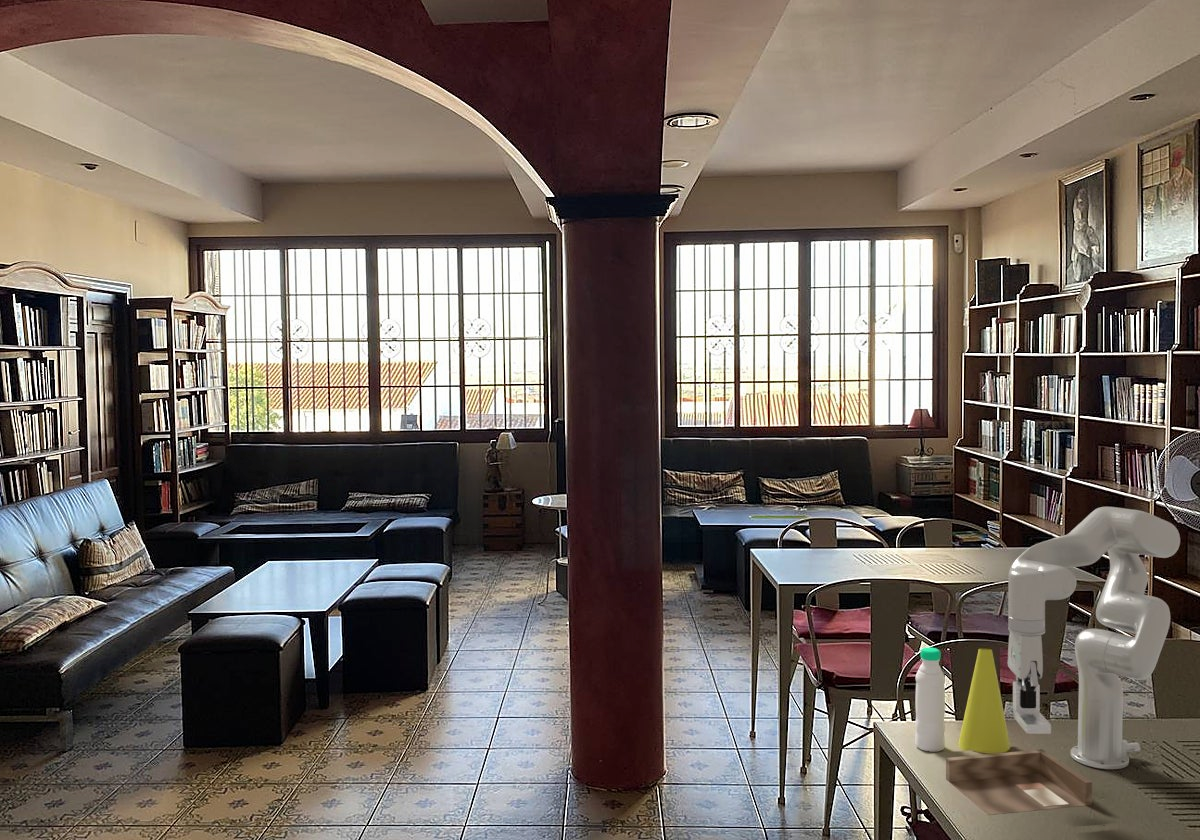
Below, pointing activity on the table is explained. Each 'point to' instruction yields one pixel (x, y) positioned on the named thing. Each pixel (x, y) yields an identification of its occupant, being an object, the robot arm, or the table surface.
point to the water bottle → (930, 702)
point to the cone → (984, 710)
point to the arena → (1018, 782)
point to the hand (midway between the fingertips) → (1026, 704)
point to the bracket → (1029, 713)
